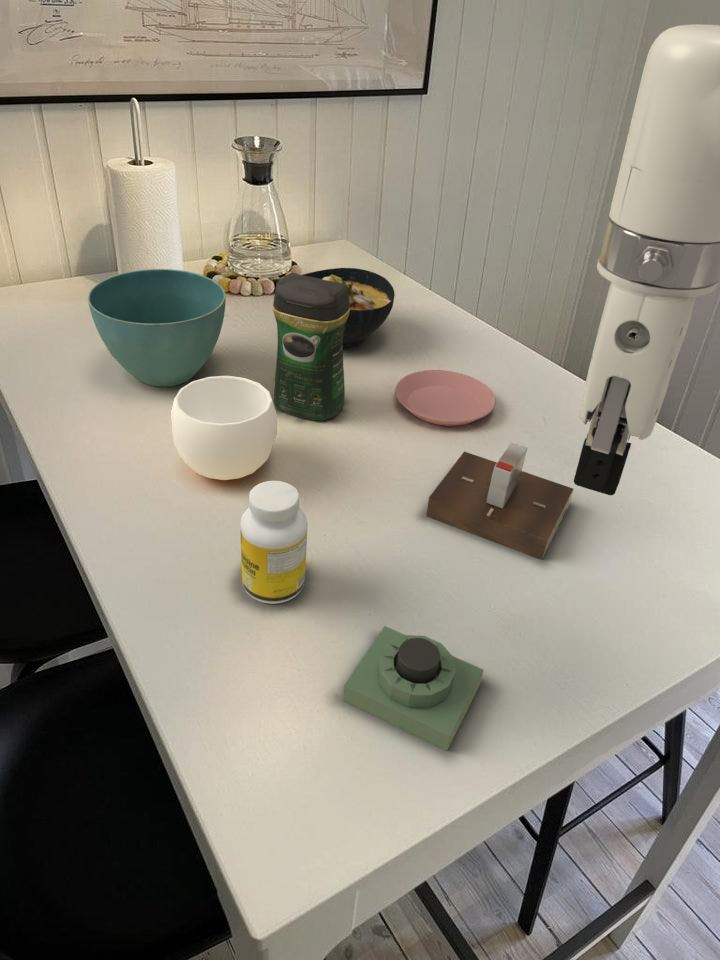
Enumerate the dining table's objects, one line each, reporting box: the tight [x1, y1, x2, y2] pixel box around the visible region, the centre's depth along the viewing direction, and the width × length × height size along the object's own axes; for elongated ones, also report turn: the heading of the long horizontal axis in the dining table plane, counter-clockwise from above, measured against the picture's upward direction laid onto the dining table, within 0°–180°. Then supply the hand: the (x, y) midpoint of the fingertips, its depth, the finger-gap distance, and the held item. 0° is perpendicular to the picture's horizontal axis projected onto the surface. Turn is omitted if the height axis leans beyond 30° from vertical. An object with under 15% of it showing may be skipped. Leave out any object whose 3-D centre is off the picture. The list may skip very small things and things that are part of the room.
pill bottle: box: [239, 480, 308, 605], centre depth 74 cm, size 6×6×12 cm
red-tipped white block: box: [486, 442, 528, 508], centre depth 86 cm, size 6×2×5 cm, turn 152°
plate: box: [394, 369, 496, 427], centre depth 108 cm, size 14×14×2 cm
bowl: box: [302, 267, 396, 350], centre depth 120 cm, size 17×17×10 cm
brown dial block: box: [425, 451, 574, 561], centre depth 88 cm, size 14×11×3 cm
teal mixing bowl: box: [87, 268, 227, 388], centre depth 106 cm, size 18×18×12 cm
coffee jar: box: [272, 271, 350, 422], centre depth 100 cm, size 10×8×19 cm
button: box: [397, 638, 440, 683], centre depth 65 cm, size 4×4×2 cm
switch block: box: [342, 625, 484, 752], centre depth 66 cm, size 10×8×4 cm
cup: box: [170, 375, 278, 481], centre depth 90 cm, size 12×12×10 cm
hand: (595, 484), depth 59 cm, fingers closed
